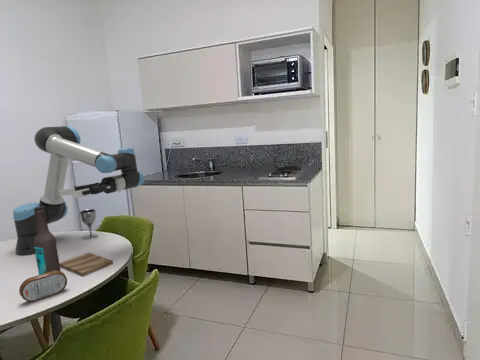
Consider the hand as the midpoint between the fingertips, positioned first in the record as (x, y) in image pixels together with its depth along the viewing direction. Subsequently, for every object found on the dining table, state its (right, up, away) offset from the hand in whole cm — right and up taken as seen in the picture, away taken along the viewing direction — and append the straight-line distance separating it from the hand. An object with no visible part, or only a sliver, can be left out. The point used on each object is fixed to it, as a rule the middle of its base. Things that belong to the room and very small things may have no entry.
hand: (66, 194), depth 142 cm
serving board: (+5, -32, +7) cm, 33 cm away
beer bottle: (-4, -34, -4) cm, 35 cm away
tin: (+2, -36, -19) cm, 41 cm away
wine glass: (-10, -26, +47) cm, 55 cm away
